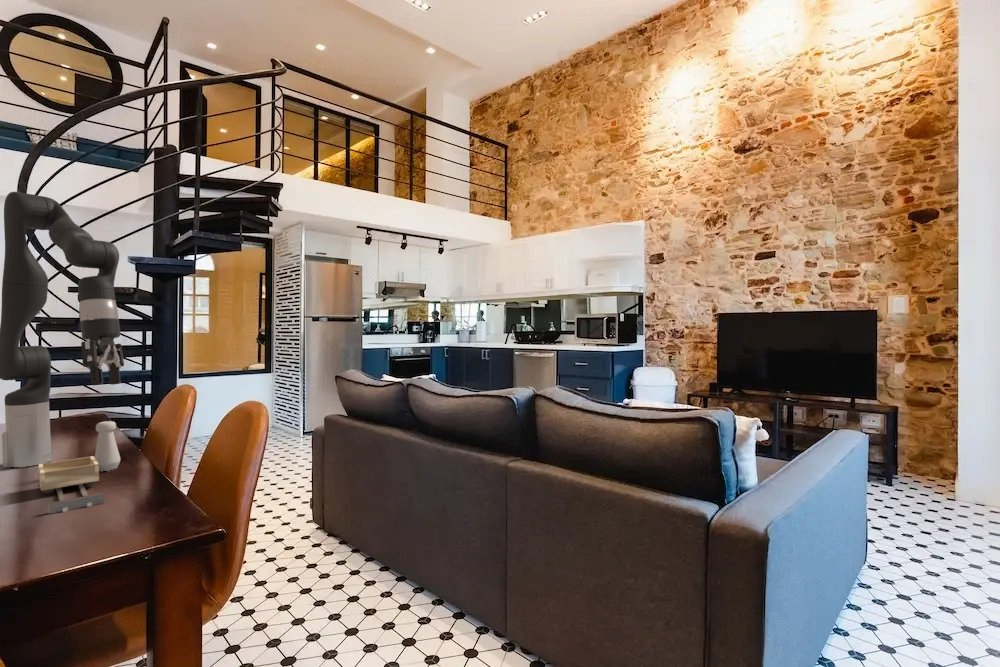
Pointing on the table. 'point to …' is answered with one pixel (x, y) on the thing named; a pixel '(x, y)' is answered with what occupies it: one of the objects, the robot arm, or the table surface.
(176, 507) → the table surface
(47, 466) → the wooden tray
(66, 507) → the rail
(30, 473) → the table surface
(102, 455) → the salt shaker
